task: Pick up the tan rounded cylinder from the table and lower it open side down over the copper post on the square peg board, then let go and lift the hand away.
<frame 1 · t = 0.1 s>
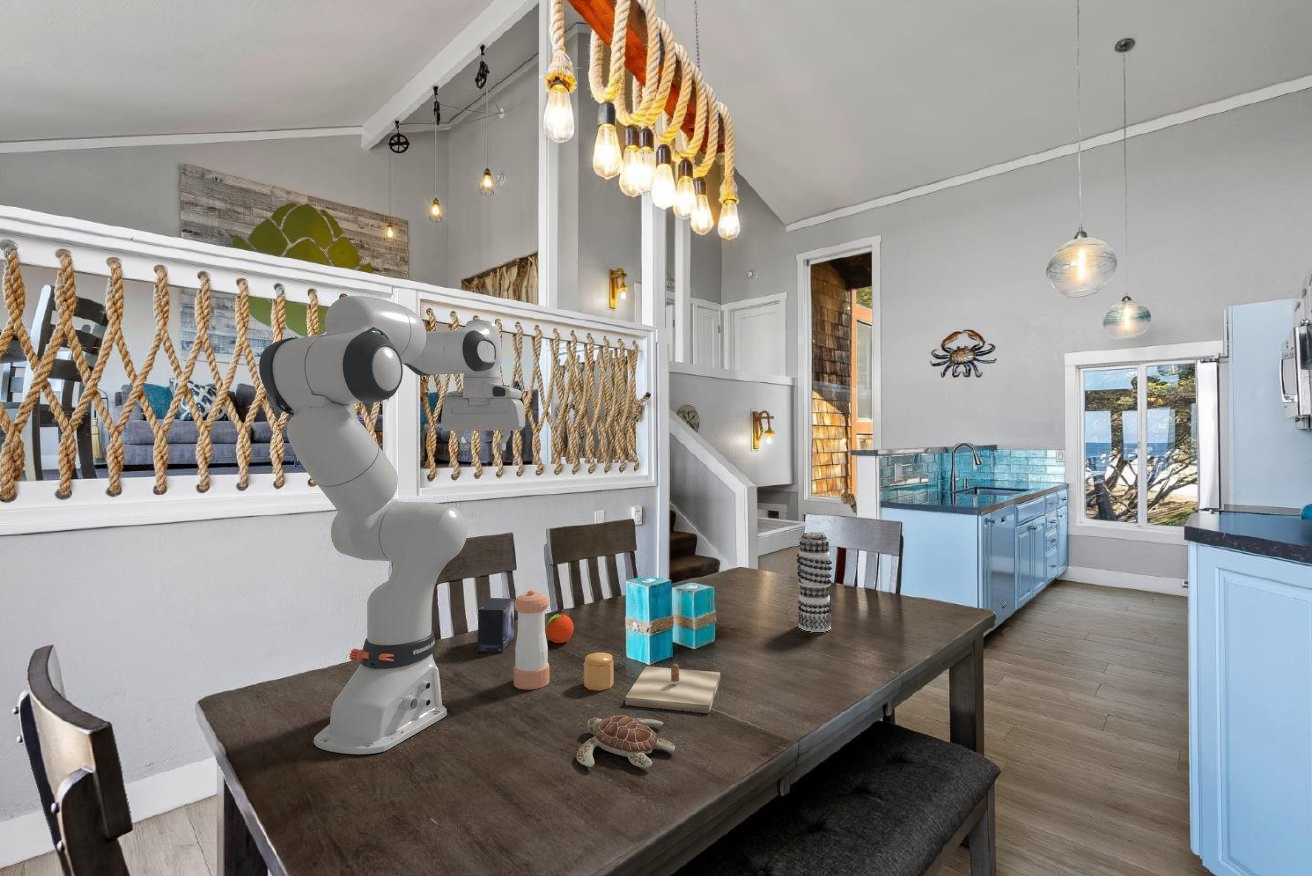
hand: (482, 450, 143), 48 cm above the table, tool pointing down, fingers open, 8 cm apart
small box: (496, 646, 149), on the table
decorative turtle: (623, 750, 100), on the table
decorative candle: (814, 628, 162), on the table
square peg board: (675, 691, 122), on the table
tan rounded cylinder: (598, 684, 125), on the table
clementine: (558, 644, 151), on the table
salt shaker: (531, 683, 127), on the table
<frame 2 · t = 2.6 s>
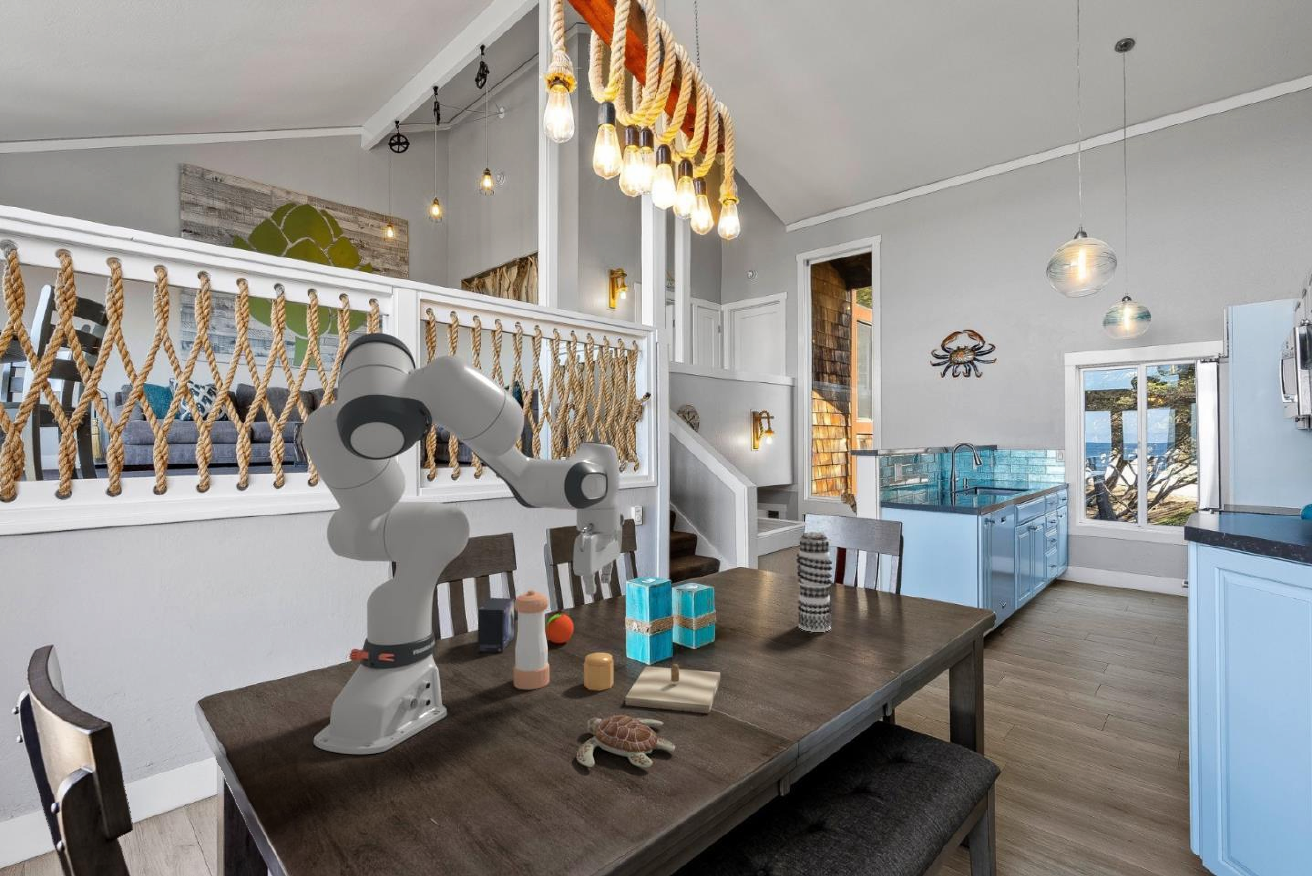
hand: (598, 588, 125), 20 cm above the table, tool pointing down, fingers open, 8 cm apart
nothing on the table moved.
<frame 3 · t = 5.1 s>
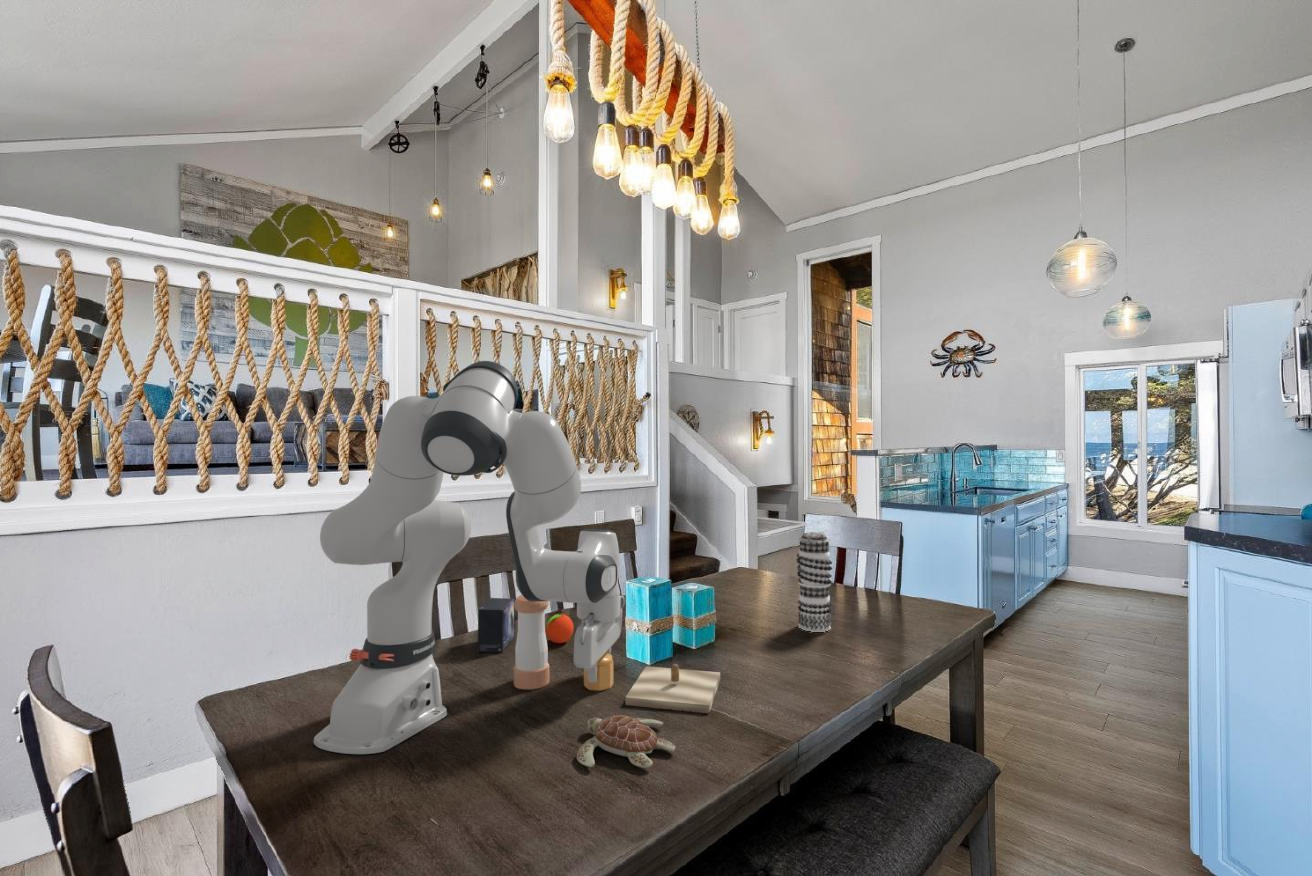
hand: (598, 674, 125), 2 cm above the table, tool pointing down, fingers closed on tan rounded cylinder, 6 cm apart
tan rounded cylinder: (598, 684, 125), on the table, touching gripper
everything else where it was.
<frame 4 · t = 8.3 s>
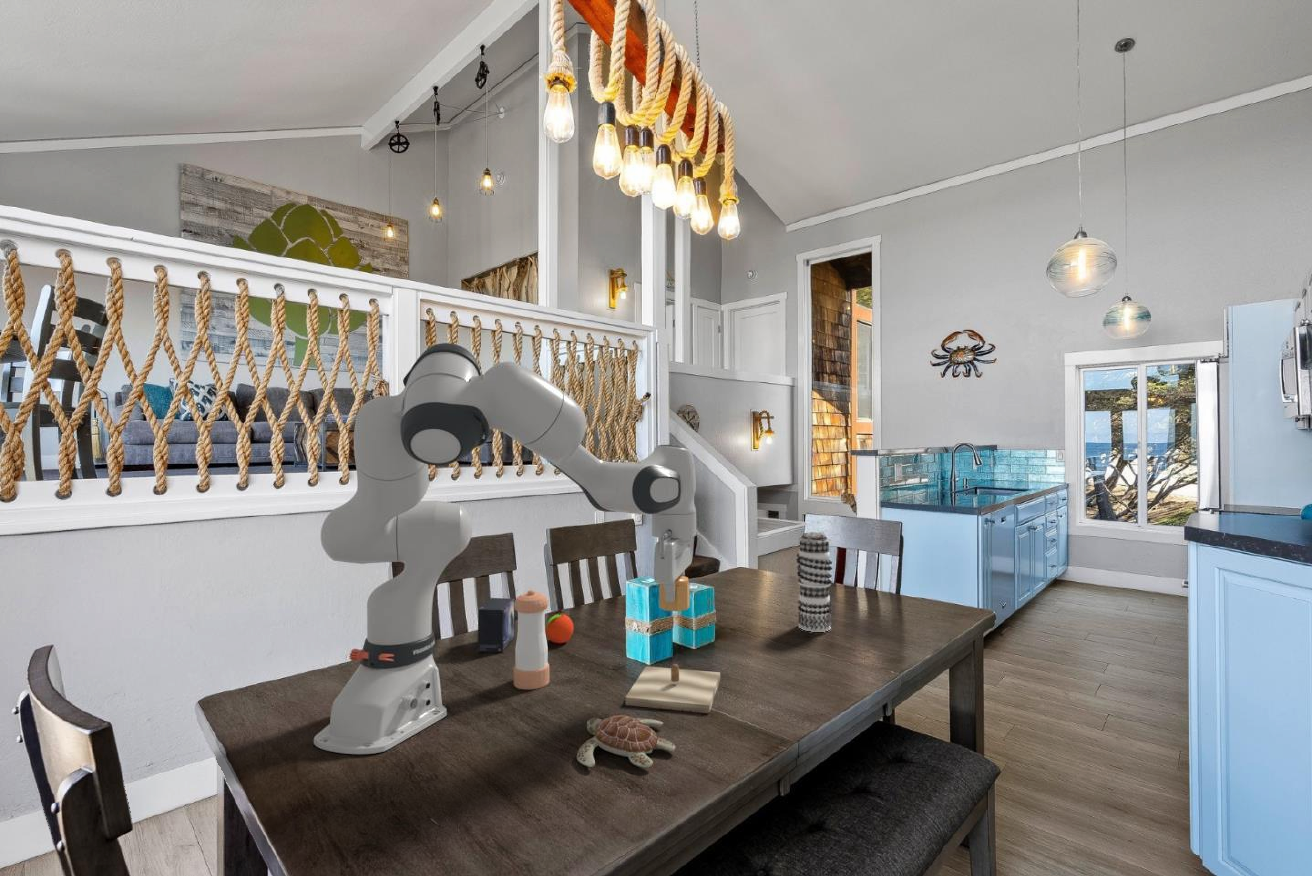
hand: (674, 596, 121), 19 cm above the table, tool pointing down, fingers closed on tan rounded cylinder, 6 cm apart
tan rounded cylinder: (674, 606, 121), point 17 cm above the table, touching gripper
everything else where it was.
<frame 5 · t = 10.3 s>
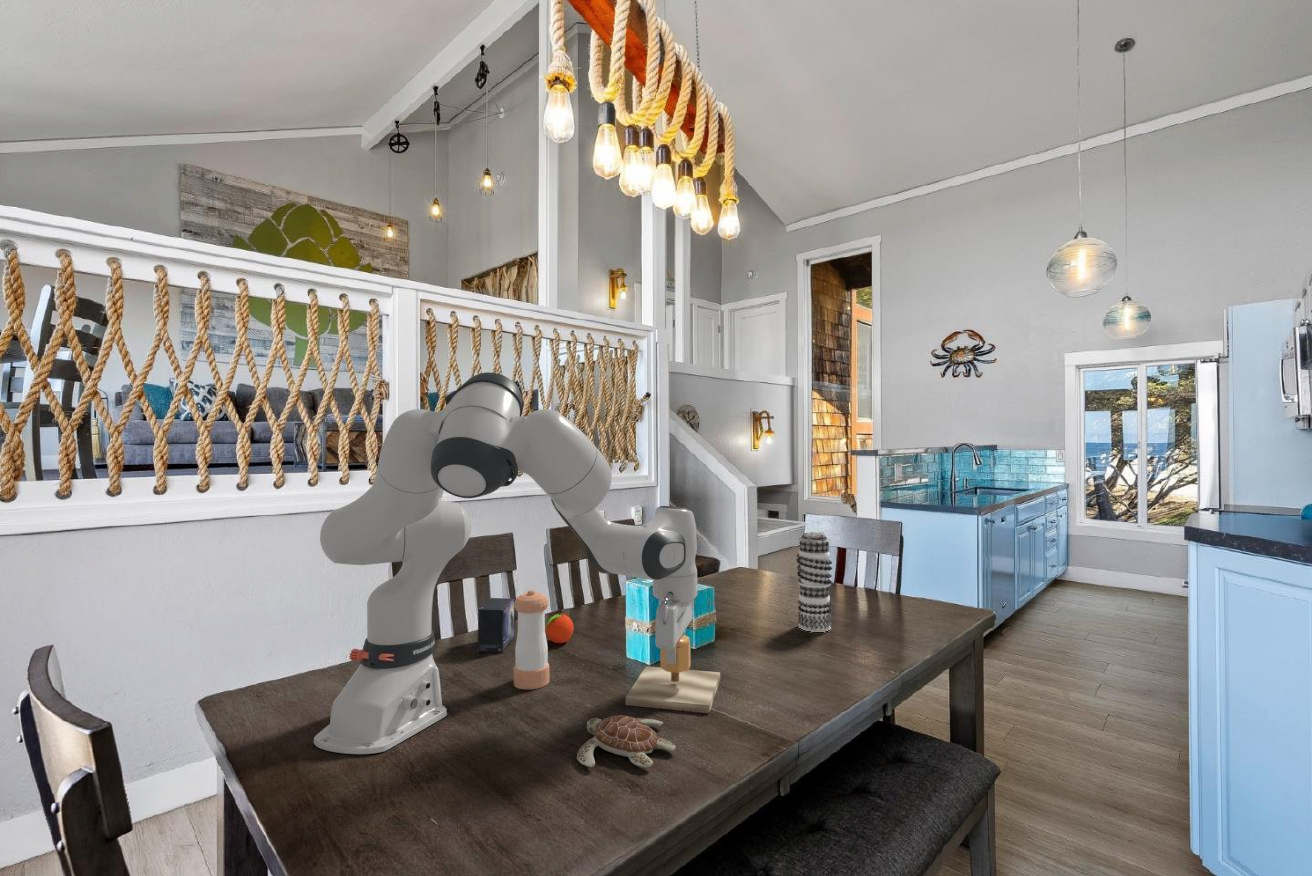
hand: (675, 656, 121), 7 cm above the table, tool pointing down, fingers closed on tan rounded cylinder, 6 cm apart
tan rounded cylinder: (675, 666, 121), point 5 cm above the table, touching gripper
everything else where it was.
when the fingers open (5 cm above the table, at t = 11.8 s): tan rounded cylinder stays where it is, resting on square peg board.
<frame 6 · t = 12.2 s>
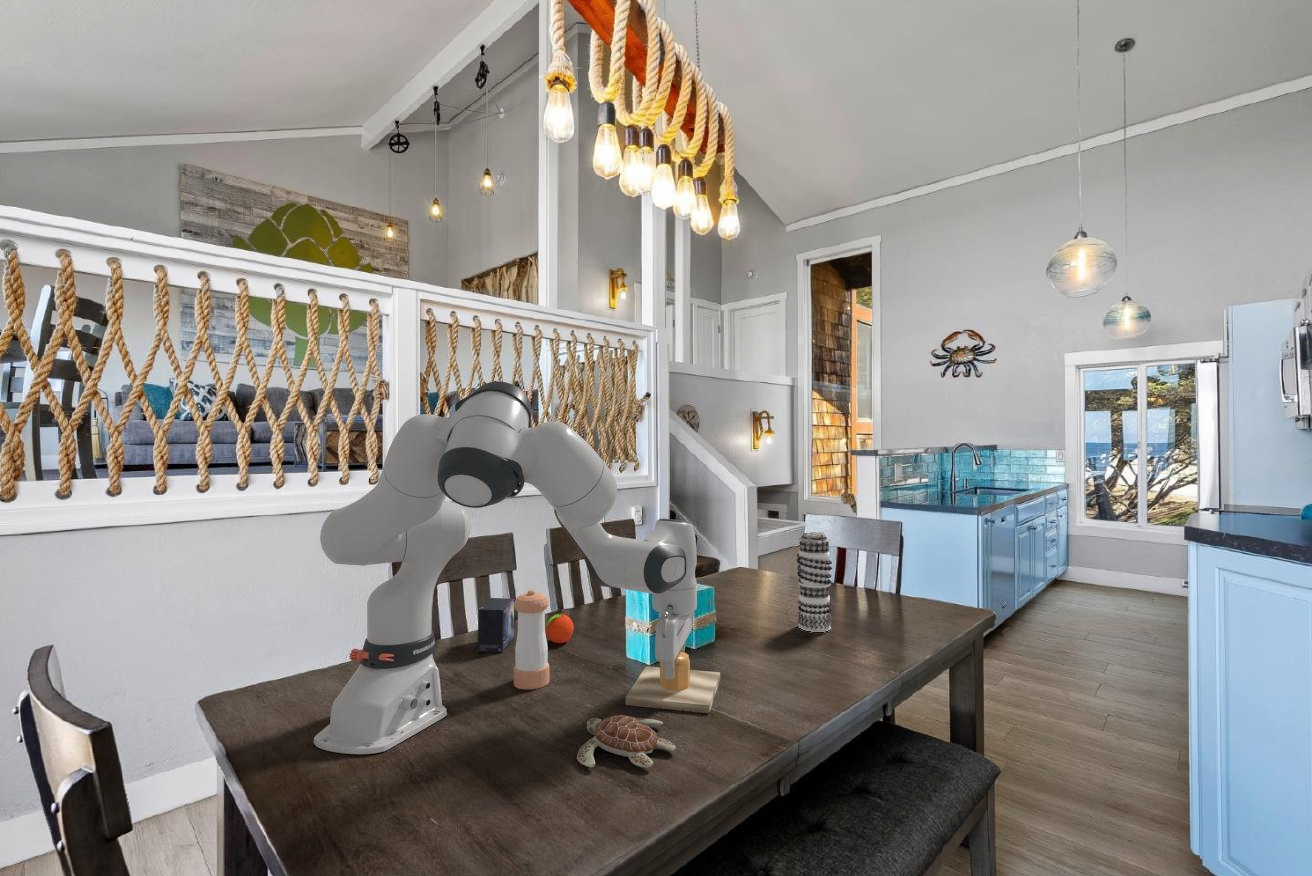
hand: (674, 668, 122), 5 cm above the table, tool pointing down, fingers open, 8 cm apart
tan rounded cylinder: (675, 684, 122), point 1 cm above the table, touching square peg board
everything else where it was.
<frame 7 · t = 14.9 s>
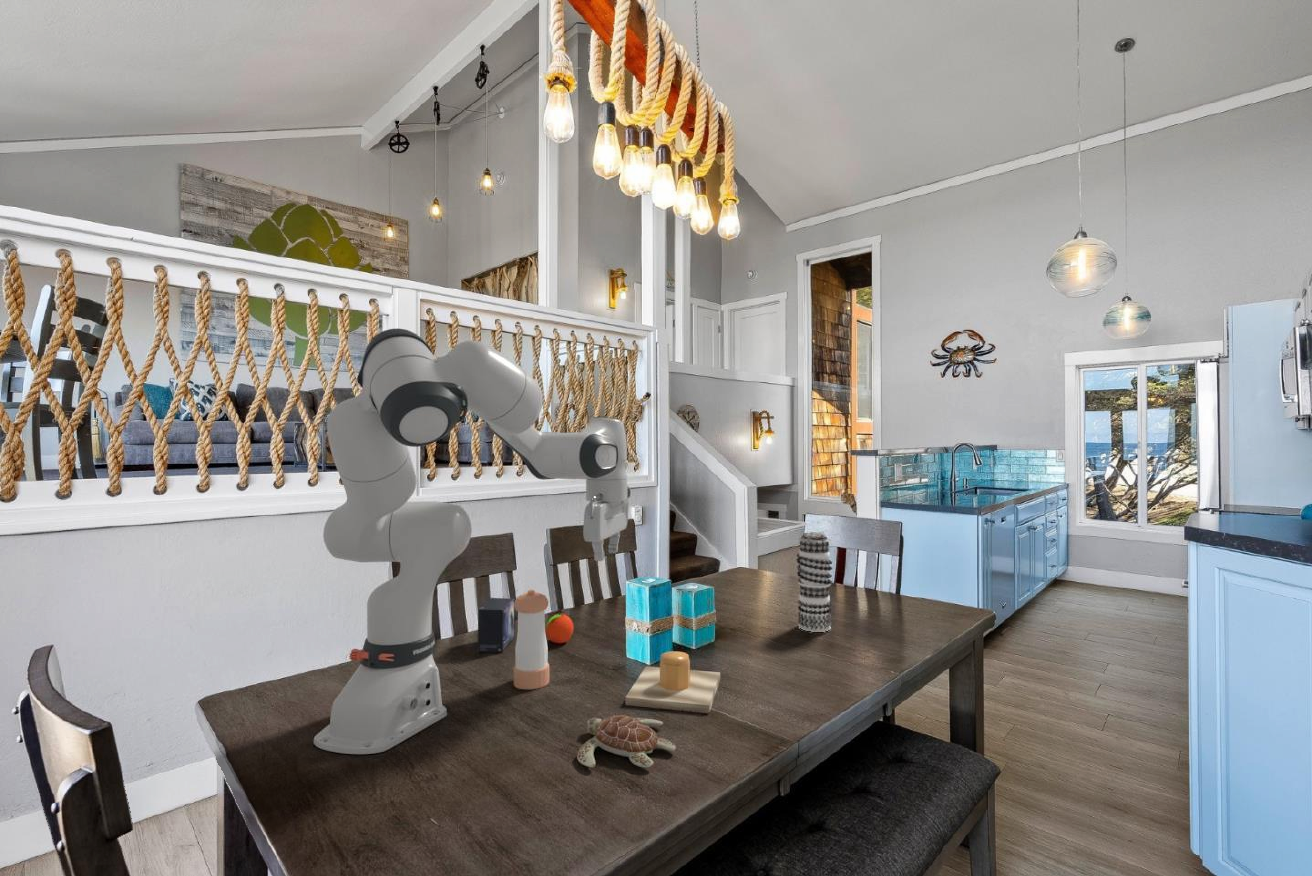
hand: (606, 556, 132), 25 cm above the table, tool pointing down, fingers open, 8 cm apart
nothing on the table moved.
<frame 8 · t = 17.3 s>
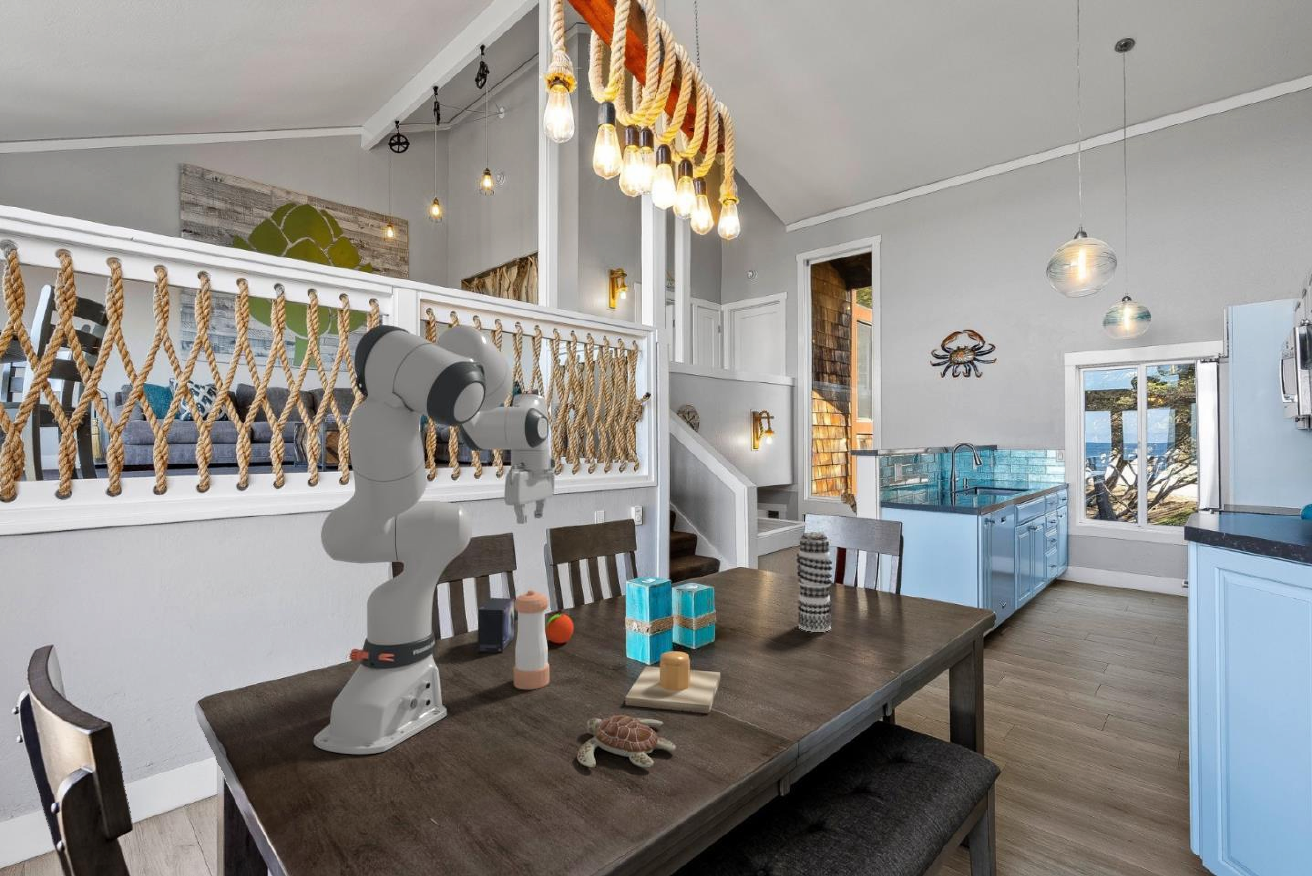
hand: (530, 520, 145), 31 cm above the table, tool pointing down, fingers open, 8 cm apart
nothing on the table moved.
at the end: tan rounded cylinder 0.0 cm off-centre on the square peg board, point 1.5 cm above the square peg board's base; tan rounded cylinder tilted 0°; the gripper is holding nothing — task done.
